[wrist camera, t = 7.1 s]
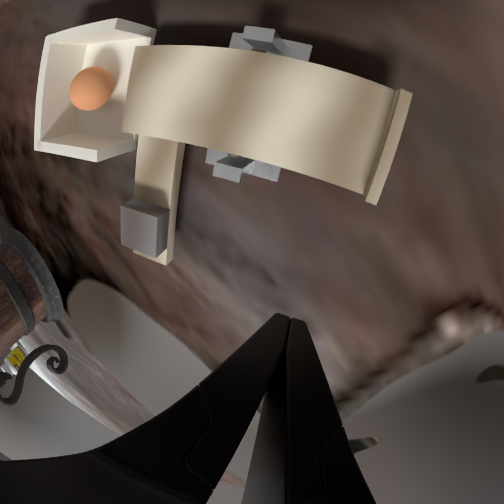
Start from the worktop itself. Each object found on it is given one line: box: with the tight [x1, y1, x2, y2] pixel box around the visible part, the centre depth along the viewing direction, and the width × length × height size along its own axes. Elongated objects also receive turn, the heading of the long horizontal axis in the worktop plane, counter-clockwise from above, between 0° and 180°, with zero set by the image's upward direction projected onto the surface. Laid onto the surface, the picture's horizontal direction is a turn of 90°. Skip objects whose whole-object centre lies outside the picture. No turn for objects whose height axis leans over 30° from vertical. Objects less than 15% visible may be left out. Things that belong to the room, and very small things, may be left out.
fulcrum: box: [205, 26, 313, 183], centre depth 14 cm, size 5×9×3 cm, turn 167°
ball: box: [69, 66, 114, 111], centre depth 15 cm, size 4×4×4 cm
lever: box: [121, 45, 412, 265], centre depth 15 cm, size 16×15×2 cm
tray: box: [34, 18, 157, 162], centre depth 15 cm, size 8×10×4 cm
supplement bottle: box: [1, 345, 28, 375], centre depth 50 cm, size 5×5×10 cm
